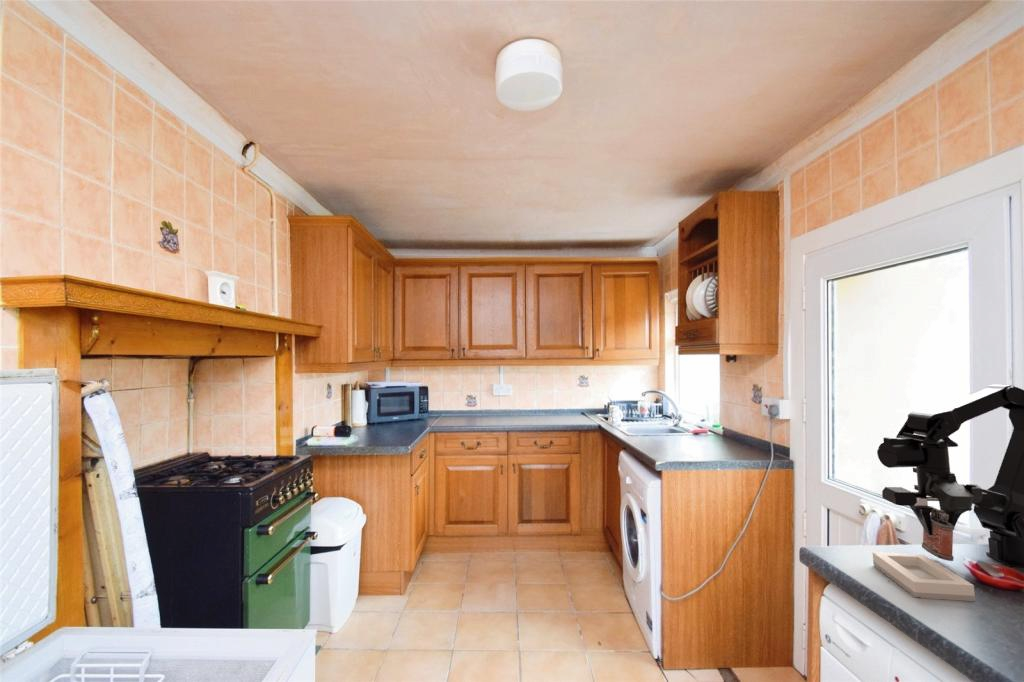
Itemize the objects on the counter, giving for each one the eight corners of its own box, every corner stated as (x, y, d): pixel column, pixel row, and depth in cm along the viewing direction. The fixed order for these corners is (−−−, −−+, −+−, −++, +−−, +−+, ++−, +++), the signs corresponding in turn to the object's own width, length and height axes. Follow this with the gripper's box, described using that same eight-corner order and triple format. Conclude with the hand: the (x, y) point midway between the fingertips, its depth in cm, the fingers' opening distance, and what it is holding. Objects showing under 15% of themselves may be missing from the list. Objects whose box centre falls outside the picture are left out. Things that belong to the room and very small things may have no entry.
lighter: (958, 562, 97) (959, 516, 98) (939, 559, 98) (940, 513, 99) (934, 547, 105) (936, 505, 106) (917, 545, 106) (918, 503, 106)
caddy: (924, 568, 100) (923, 554, 100) (975, 601, 86) (973, 585, 86) (873, 565, 102) (872, 552, 102) (915, 597, 88) (913, 581, 88)
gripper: (908, 474, 97) (915, 547, 96) (1012, 475, 93) (1019, 551, 92) (878, 462, 108) (883, 528, 107) (970, 463, 104) (976, 531, 103)
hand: (938, 534), depth 102 cm, fingers closed on lighter, 3 cm apart
